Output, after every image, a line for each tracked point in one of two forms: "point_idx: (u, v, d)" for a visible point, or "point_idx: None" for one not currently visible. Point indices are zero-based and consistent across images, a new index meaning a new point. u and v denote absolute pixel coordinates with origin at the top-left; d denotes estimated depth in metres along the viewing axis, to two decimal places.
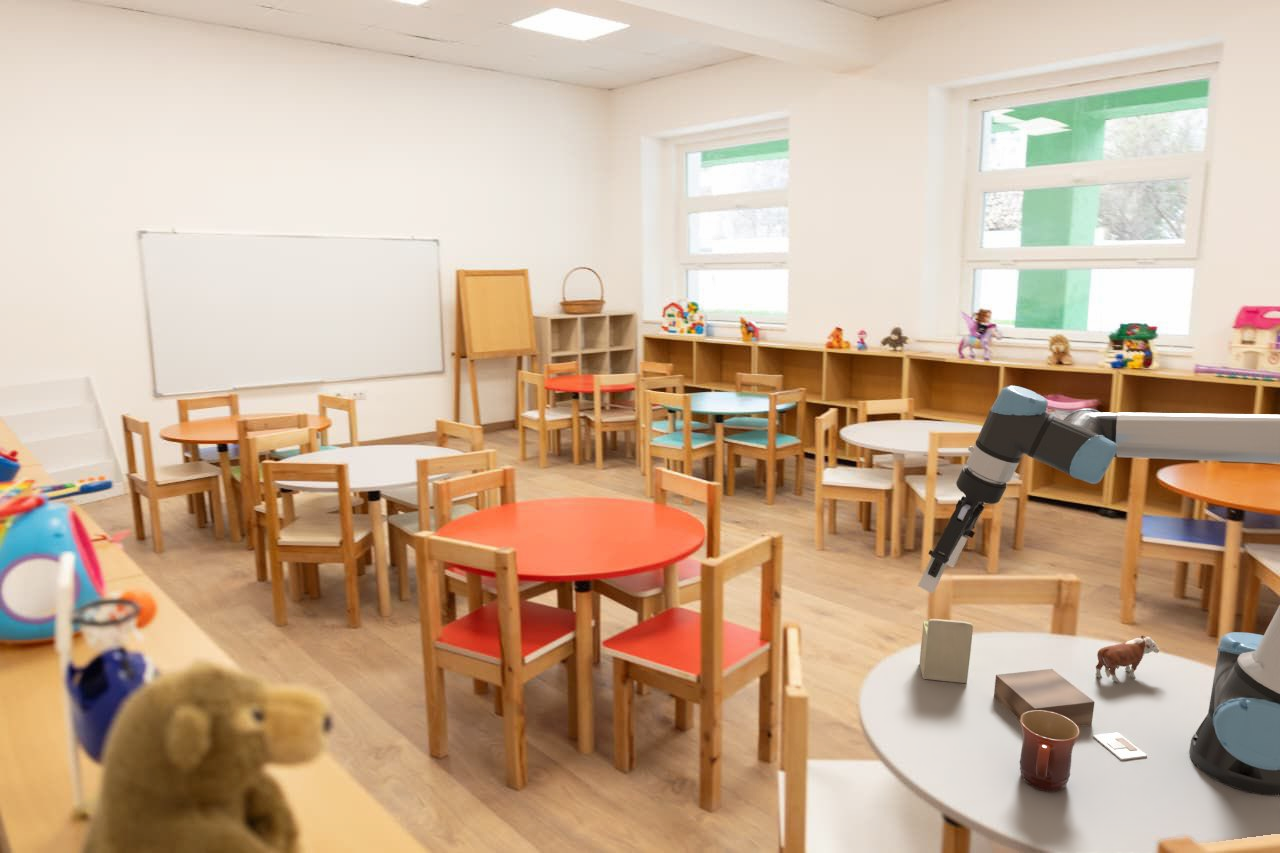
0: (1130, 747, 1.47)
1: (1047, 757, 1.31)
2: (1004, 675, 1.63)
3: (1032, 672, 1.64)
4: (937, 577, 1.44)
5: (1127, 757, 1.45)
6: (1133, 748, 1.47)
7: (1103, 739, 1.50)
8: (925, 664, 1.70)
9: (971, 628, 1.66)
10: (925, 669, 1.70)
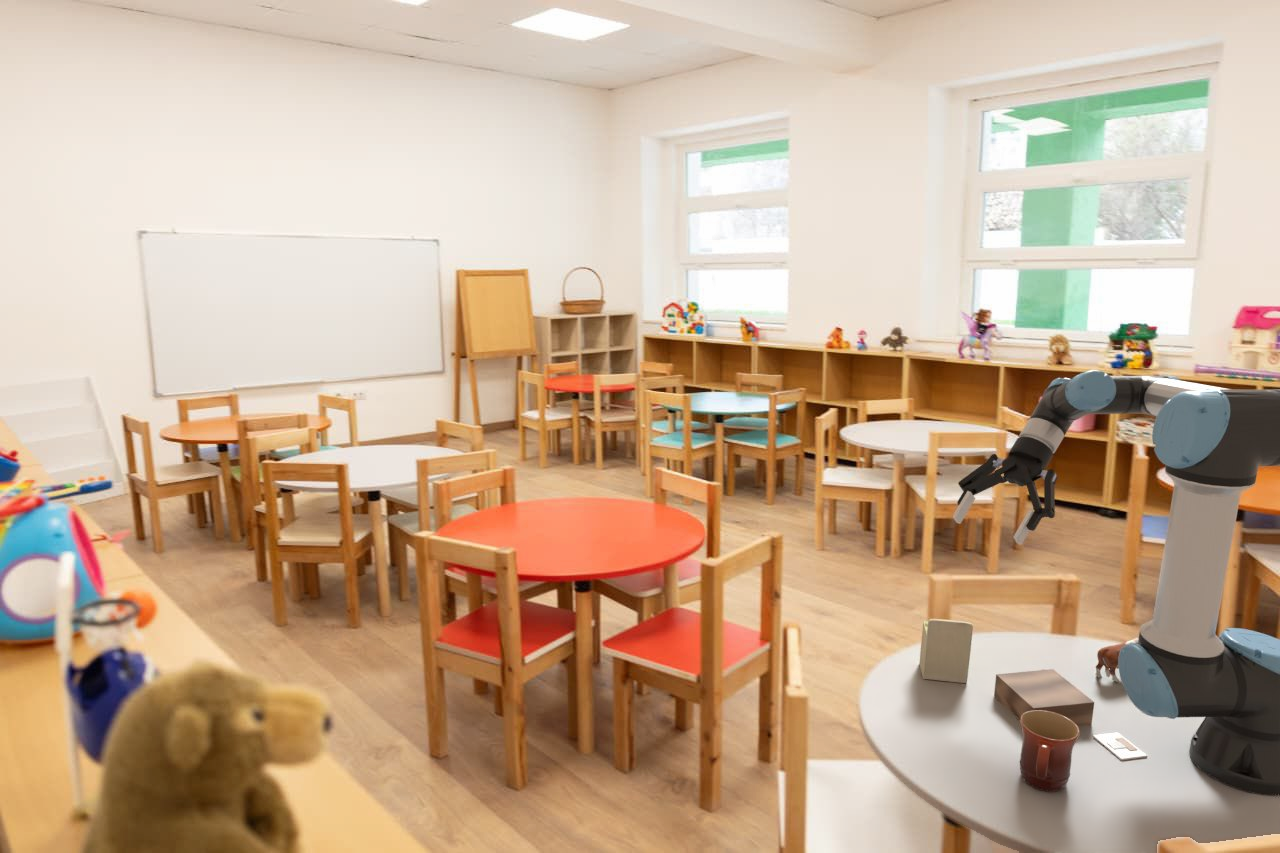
0: (1130, 747, 1.47)
1: (1047, 757, 1.31)
2: (1004, 675, 1.63)
3: (1032, 672, 1.64)
4: None
5: (1127, 757, 1.45)
6: (1133, 748, 1.47)
7: (1103, 739, 1.50)
8: (925, 664, 1.70)
9: (971, 628, 1.66)
10: (925, 669, 1.70)
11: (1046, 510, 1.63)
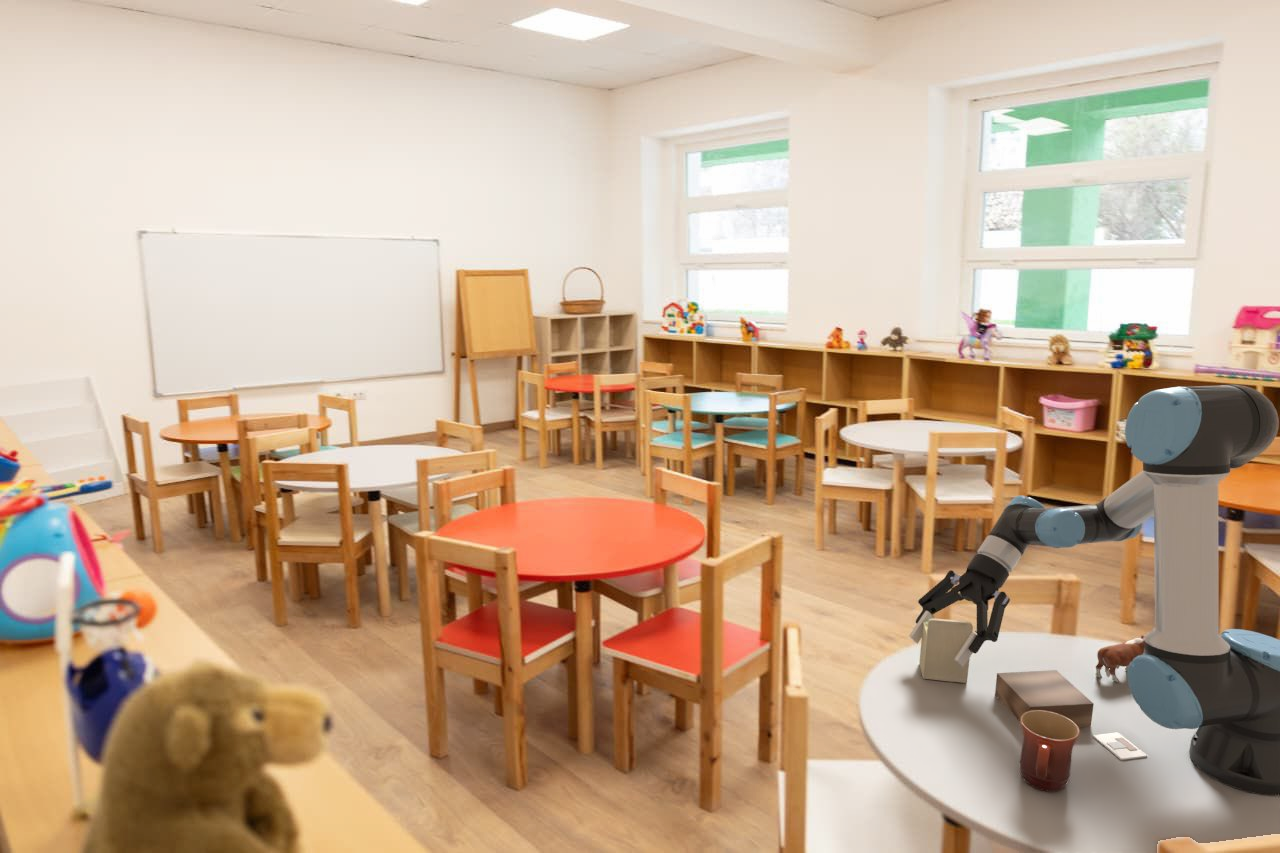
0: (1130, 747, 1.47)
1: (1047, 757, 1.31)
2: (1005, 674, 1.64)
3: (1034, 673, 1.64)
4: None
5: (1127, 757, 1.45)
6: (1133, 748, 1.47)
7: (1103, 739, 1.50)
8: (925, 664, 1.70)
9: (971, 628, 1.66)
10: (925, 669, 1.70)
11: (987, 634, 1.64)
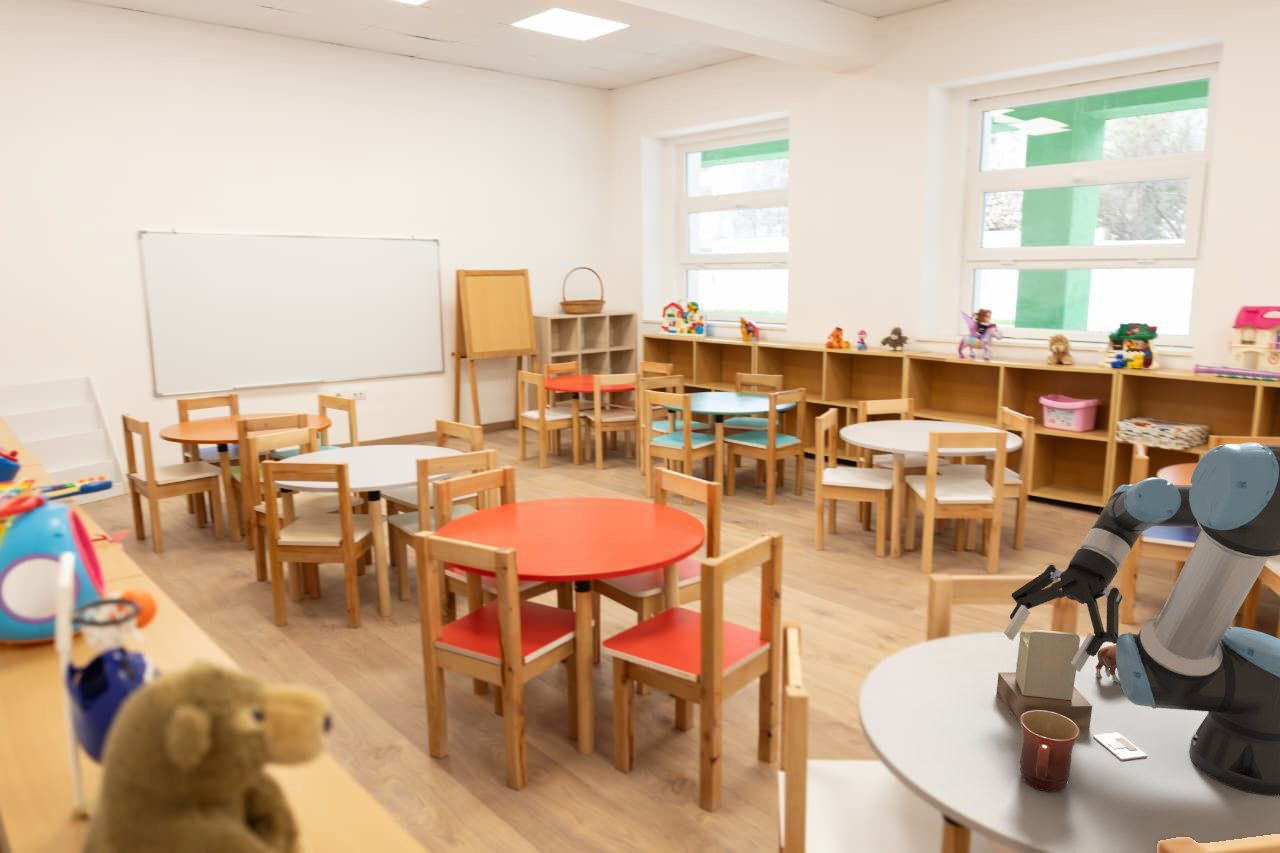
0: (1130, 747, 1.47)
1: (1047, 757, 1.31)
2: (1007, 673, 1.64)
3: None
4: None
5: (1127, 757, 1.45)
6: (1133, 748, 1.47)
7: (1103, 739, 1.50)
8: (1025, 679, 1.55)
9: (1078, 640, 1.52)
10: (1025, 685, 1.56)
11: (1108, 635, 1.49)
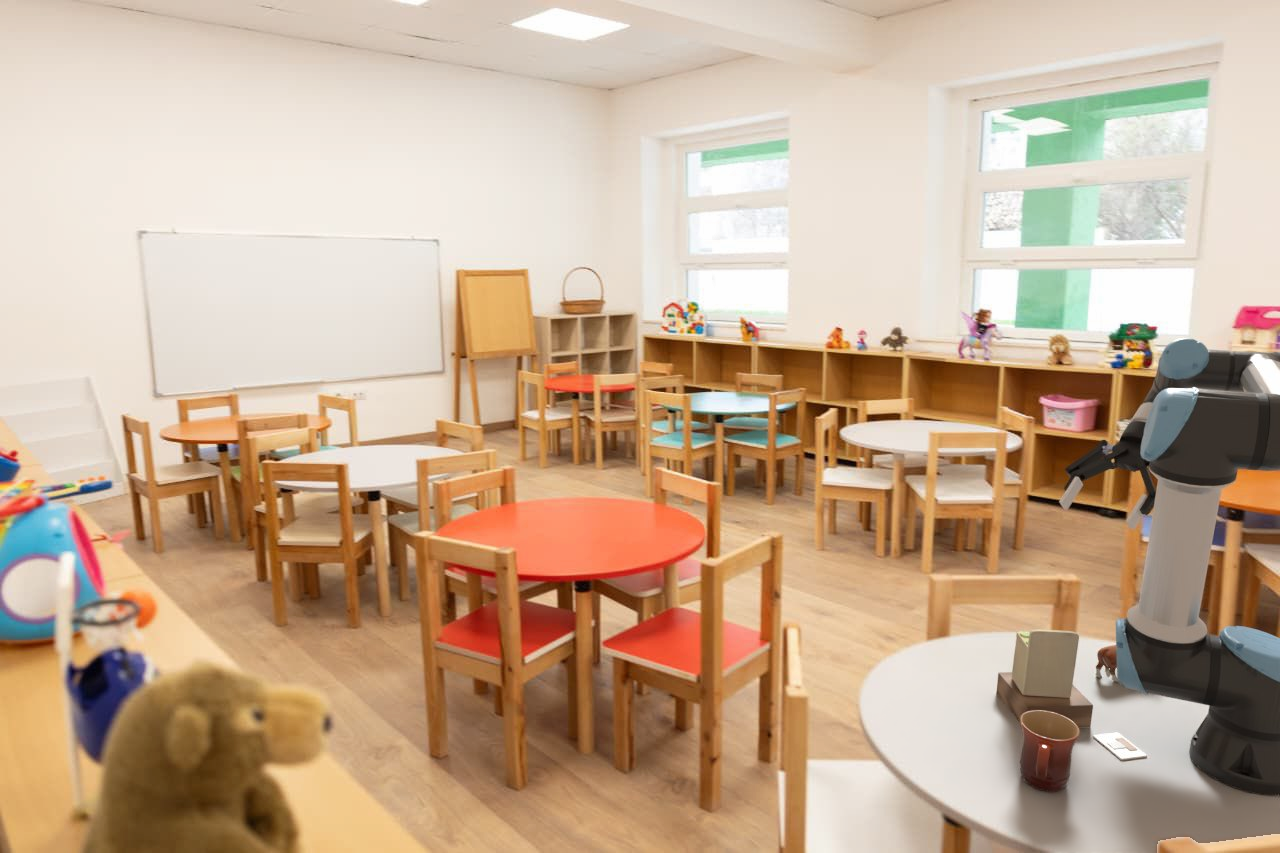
0: (1130, 747, 1.47)
1: (1047, 757, 1.31)
2: (1007, 673, 1.64)
3: None
4: None
5: (1127, 757, 1.45)
6: (1133, 748, 1.47)
7: (1103, 739, 1.50)
8: (1026, 679, 1.55)
9: (1077, 638, 1.52)
10: (1026, 684, 1.55)
11: None
